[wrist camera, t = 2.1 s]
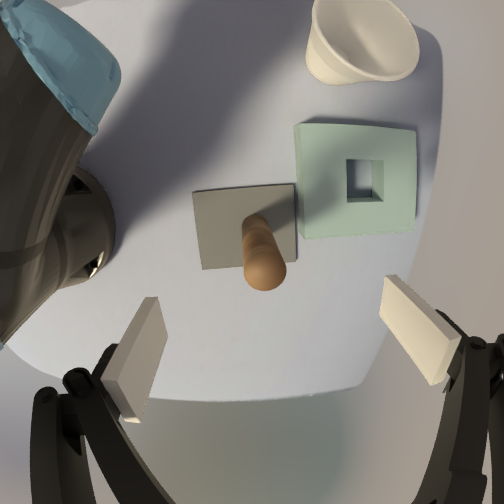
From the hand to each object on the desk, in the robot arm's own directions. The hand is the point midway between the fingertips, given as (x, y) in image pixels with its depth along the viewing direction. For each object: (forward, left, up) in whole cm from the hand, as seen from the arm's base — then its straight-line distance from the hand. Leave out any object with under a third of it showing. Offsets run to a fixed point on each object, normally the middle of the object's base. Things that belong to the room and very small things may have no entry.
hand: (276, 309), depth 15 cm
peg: (0, 0, -17) cm, 17 cm away
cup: (+10, +19, -17) cm, 28 cm away
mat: (-1, 0, -17) cm, 17 cm away
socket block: (+12, +5, -17) cm, 21 cm away
